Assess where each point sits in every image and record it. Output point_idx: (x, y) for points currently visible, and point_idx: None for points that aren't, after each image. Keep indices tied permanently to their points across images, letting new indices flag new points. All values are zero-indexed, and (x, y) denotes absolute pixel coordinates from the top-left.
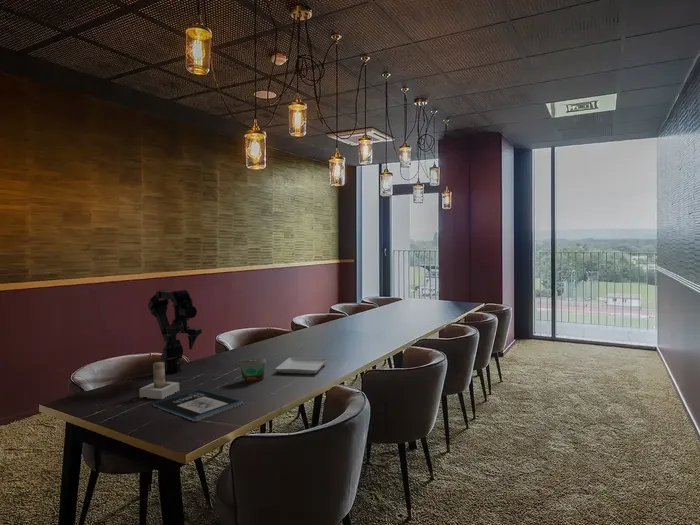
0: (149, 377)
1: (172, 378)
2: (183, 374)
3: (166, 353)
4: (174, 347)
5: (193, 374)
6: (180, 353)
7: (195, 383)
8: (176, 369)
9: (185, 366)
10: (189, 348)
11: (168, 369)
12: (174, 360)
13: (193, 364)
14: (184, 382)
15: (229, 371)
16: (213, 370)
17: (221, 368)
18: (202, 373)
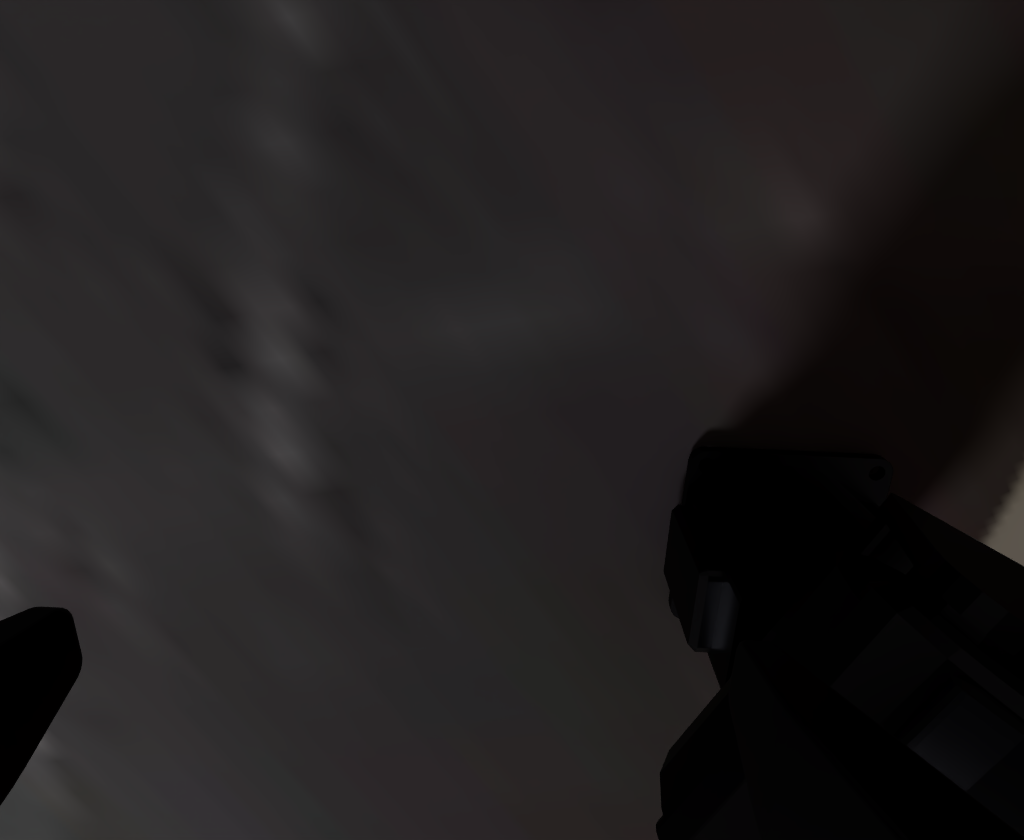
0: (997, 228)
1: (577, 244)
2: (534, 453)
3: (967, 575)
4: (747, 706)
5: (390, 474)
6: (677, 748)
7: (32, 59)
8: (685, 519)
9: None
10: (33, 626)
11: (807, 486)
12: (757, 602)
13: None
14: (242, 76)
15: None
16: (251, 659)
17: (214, 737)
18: (299, 531)
